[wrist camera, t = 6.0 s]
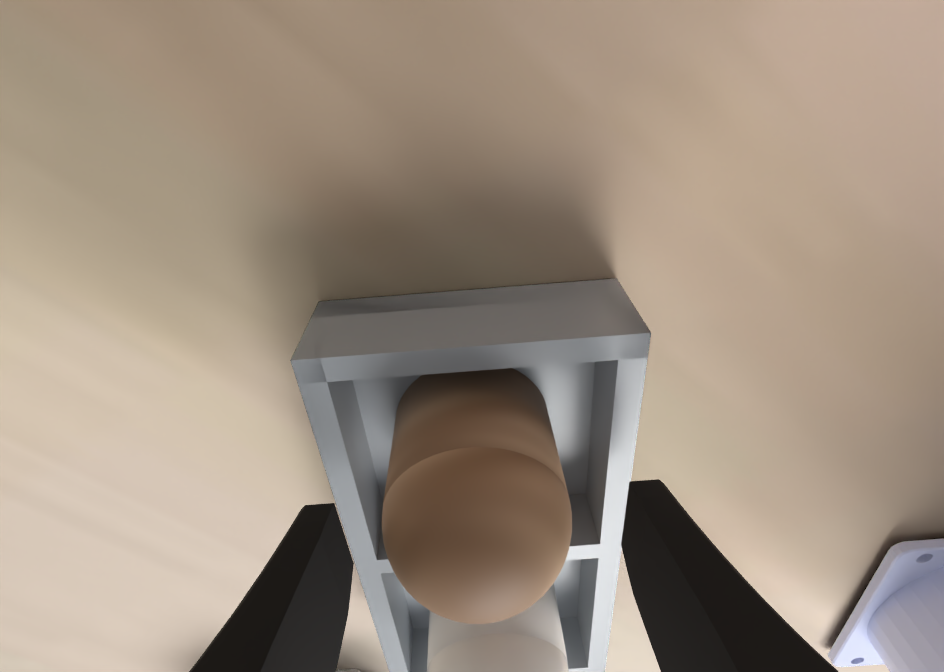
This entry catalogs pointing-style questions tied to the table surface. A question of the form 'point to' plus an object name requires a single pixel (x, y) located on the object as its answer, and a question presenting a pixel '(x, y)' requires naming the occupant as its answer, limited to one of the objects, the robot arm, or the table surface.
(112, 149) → the table surface
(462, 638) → the cream egg
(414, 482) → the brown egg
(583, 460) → the holder
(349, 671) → the egg carton
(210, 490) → the table surface
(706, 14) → the table surface
